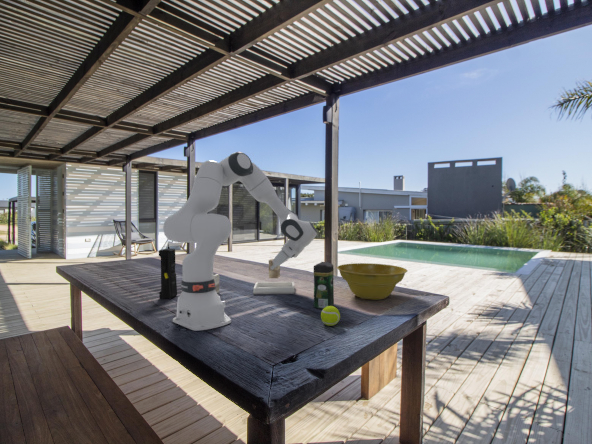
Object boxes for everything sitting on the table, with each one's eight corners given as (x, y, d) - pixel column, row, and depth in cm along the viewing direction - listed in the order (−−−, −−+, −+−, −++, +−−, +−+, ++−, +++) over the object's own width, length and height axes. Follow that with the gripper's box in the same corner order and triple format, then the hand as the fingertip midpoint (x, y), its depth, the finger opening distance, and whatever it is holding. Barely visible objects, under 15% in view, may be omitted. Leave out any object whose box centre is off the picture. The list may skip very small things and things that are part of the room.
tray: (293, 287, 167) (293, 281, 167) (294, 293, 153) (294, 287, 153) (256, 287, 166) (256, 282, 166) (253, 294, 152) (253, 288, 152)
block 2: (280, 276, 162) (279, 258, 161) (277, 278, 157) (277, 260, 157) (271, 276, 163) (271, 258, 162) (268, 278, 158) (268, 260, 158)
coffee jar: (317, 302, 138) (317, 260, 137) (335, 304, 135) (335, 261, 135) (311, 308, 128) (311, 263, 128) (330, 310, 126) (330, 264, 125)
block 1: (219, 292, 158) (219, 273, 158) (215, 294, 153) (215, 275, 153) (211, 291, 159) (210, 273, 159) (206, 293, 154) (206, 275, 154)
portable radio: (171, 299, 143) (170, 245, 143) (158, 299, 144) (157, 245, 143) (178, 295, 151) (177, 243, 151) (165, 295, 151) (164, 243, 151)
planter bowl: (398, 288, 163) (398, 263, 162) (416, 306, 131) (416, 274, 130) (335, 287, 166) (335, 262, 166) (338, 305, 134) (337, 273, 134)
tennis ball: (324, 329, 105) (324, 309, 105) (318, 323, 111) (317, 304, 111) (343, 327, 107) (343, 308, 106) (335, 321, 113) (335, 302, 113)
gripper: (292, 242, 168) (274, 260, 170) (282, 246, 148) (262, 266, 150) (300, 251, 167) (282, 268, 170) (291, 256, 147) (271, 276, 150)
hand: (273, 267), depth 160 cm, fingers closed on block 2, 5 cm apart
